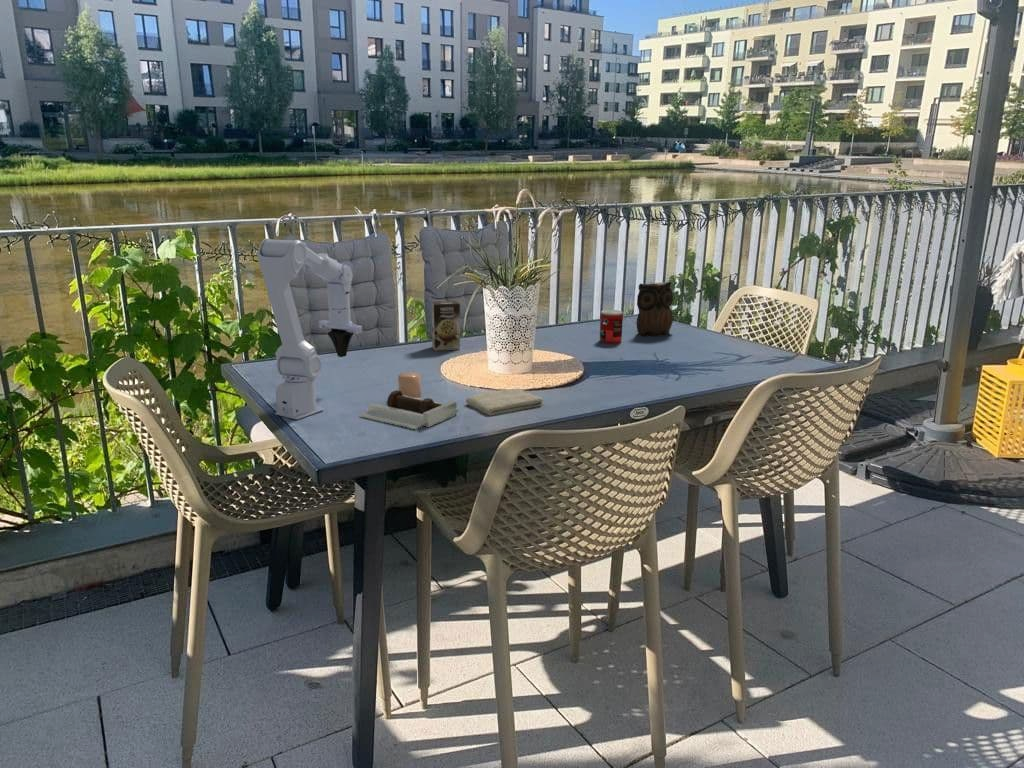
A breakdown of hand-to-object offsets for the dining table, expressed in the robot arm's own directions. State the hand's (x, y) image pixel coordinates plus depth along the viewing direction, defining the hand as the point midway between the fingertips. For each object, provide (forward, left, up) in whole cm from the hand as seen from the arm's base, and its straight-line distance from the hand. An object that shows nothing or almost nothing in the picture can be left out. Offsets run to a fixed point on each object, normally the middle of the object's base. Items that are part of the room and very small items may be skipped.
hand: (342, 356), depth 209 cm
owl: (+121, -43, -10) cm, 129 cm away
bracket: (-6, -29, -10) cm, 31 cm away
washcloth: (+14, -45, -11) cm, 48 cm away
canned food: (+99, -36, -10) cm, 106 cm away
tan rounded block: (+6, -19, -10) cm, 22 cm away
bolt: (-5, -30, -10) cm, 32 cm away
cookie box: (+57, +7, -10) cm, 58 cm away
